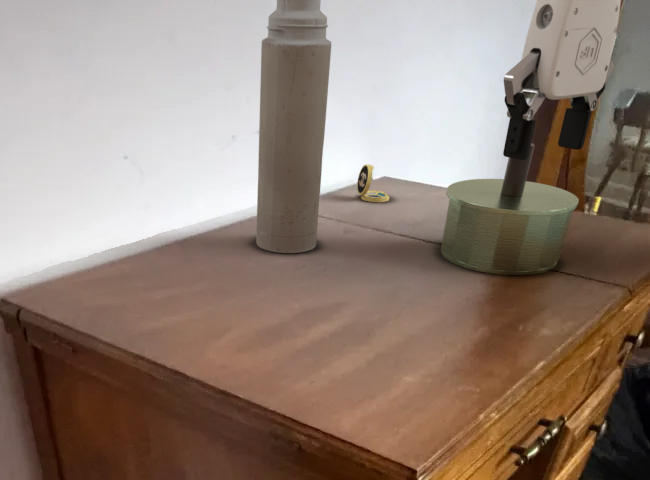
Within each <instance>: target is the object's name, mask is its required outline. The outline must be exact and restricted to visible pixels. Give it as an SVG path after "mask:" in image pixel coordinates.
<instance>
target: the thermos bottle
mask: <svg viewBox="0 0 650 480" xmlns="http://www.w3.org/2000/svg"><path fill="white" fill-rule="evenodd" d="M321 1H322V0H276V7H275V10H274V11H272V12H271V13H270V14H269V16H268V21H267V22H268V24H267V25H266V29H267V37H265V38H263V39H262V40H261V47H260V48H261V52H260V56H261V57H260V58H261V59H260V84H259V85H260V87H259V126H258V127H259V129H258V165H257V166H258V167H257V174H258V175H257V199H256V200H257V201H256V202H257V204H256V234H255V235H256V237H255V238H256V239H255V243H256V245H257V247H259V248H260V249H263V250H265V251H267V252H268V251H269V252H274V253H280V254H297V253H305V252H308V251H311V250H313V249H315V247H316V246H317V238H318V226H319V209H320V197H321V186H322V185H321V183H322V172H323V170H322V169H323V152H324V144H325V143H324V142H325V132H326V120H327V108H328V107H327V106H328V94H329V81H330V69H331V55H332V41H331V40H330V39H328V38H327V28H328V27H329V24H328V17H327V16H326V15H325V13H323V12H322V10H321Z"/></svg>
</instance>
